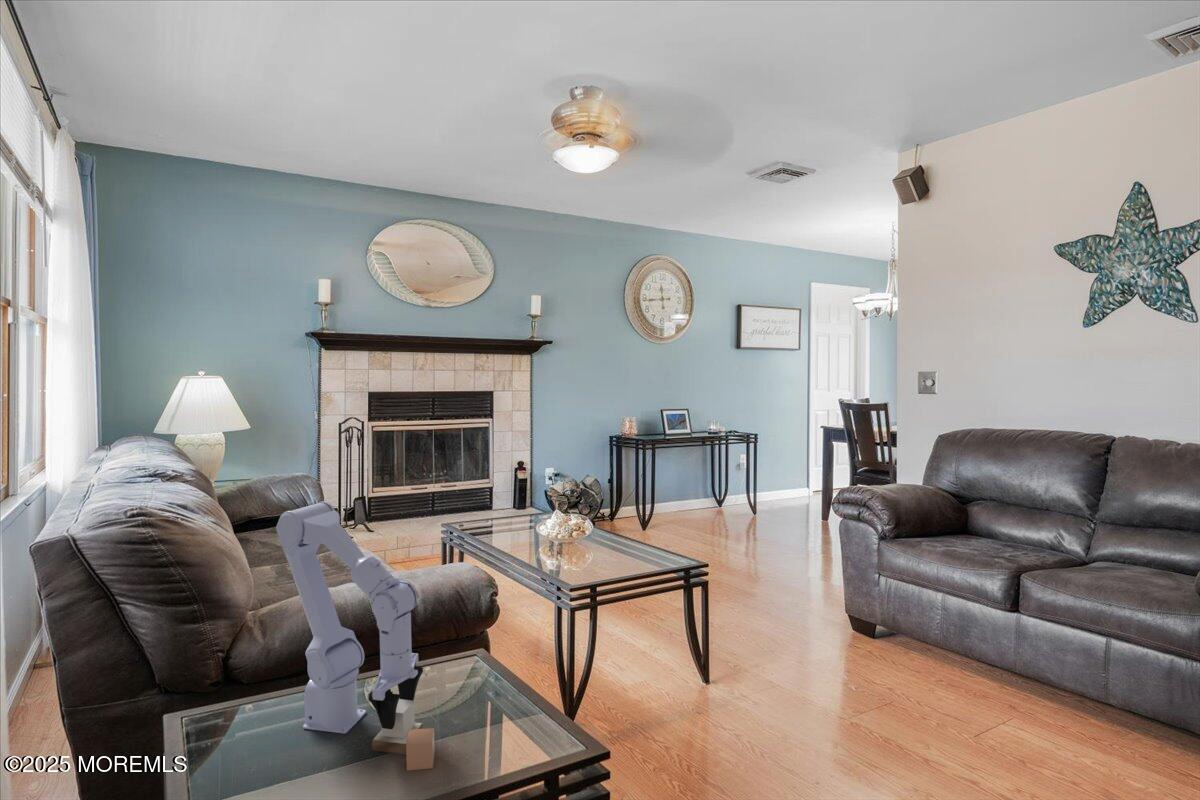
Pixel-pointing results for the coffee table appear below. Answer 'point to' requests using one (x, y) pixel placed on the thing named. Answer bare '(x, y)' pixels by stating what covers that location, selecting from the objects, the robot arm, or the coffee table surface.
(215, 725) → the coffee table surface
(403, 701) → the stone block
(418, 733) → the terracotta block
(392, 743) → the plinth
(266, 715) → the coffee table surface
